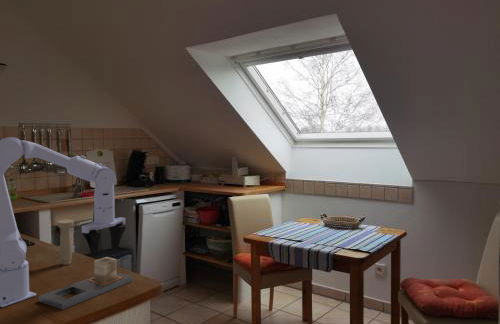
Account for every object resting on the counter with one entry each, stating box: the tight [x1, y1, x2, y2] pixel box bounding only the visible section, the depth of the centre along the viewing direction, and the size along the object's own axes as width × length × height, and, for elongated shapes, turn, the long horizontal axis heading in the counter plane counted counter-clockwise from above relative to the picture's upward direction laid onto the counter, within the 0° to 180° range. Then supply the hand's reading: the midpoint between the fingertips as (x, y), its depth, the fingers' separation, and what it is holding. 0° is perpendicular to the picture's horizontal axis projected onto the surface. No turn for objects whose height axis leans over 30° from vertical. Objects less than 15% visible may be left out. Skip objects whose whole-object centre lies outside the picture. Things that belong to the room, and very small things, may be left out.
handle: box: [57, 219, 75, 266], centre depth 140 cm, size 5×6×15 cm
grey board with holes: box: [38, 272, 133, 311], centre depth 117 cm, size 24×10×2 cm, turn 150°
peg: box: [93, 256, 118, 284], centre depth 122 cm, size 4×4×8 cm
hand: (105, 251), depth 121 cm, fingers open, 7 cm apart
